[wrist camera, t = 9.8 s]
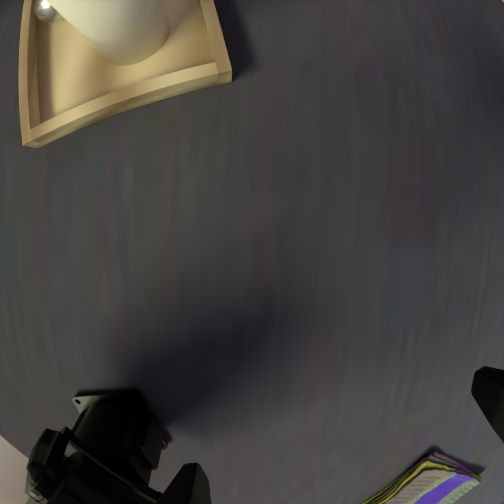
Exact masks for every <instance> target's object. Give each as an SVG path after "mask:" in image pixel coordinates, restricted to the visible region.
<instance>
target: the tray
mask: <svg viewBox="0 0 504 504" xmlns="http://www.w3.org/2000/svg"><path fill="white" fill-rule="evenodd" d="M35 1H36V0H24V6H23V14H22V23H21V34H20V49H19V107H20V122H21V134H22V144H23V146H29V147H34V148H40V147H42V146H44V145H46V144H48V143H50V142H52V141H54V140H56V139H58V138H61V137H63V136H65V135H67V134H70V133H72V132H74V131H76V130H79V129H81V128H83V127H86V126H88V125H91V124H93V123H96V122H98V121H101V120H103V119H106V118H109V117H111V116H114V115H117V114H120V113H122V112H125V111H128V110H131V109H134V108H137V107H140V106H143V105H146V104H149V103H152V102H156V101H159V100H162V99H166V98H169V97H173V96H176V95H180V94H184V93H187V92H191V91H195V90H199V89H203V88H207V87H212V86H216V85H221V84H225V83H230V82H232V68H231V64H230V61H229V57H228V53H227V49H226V45H225V41H224V38H223V34H222V30H221V27H220V23H219V19H218V15H217V12H216V8H215V4H214V1H213V0H162V3H163V6H164V9H165V12H166V15H167V18H168V21H169V26H170V29H169V34H168V37H167V39H166V41H165V43H164V44H163V46H162V47H161V48H160V49H159V50H158V51H157V52H156V53H155V54H154V55H152V56H151V57H149V58H148V59H146V60H144V61H142V62H139V63H137V64H133V65H128V66H119V65H114V64H111V63H109V62H107V61H106V60H105V59H104V58H103V57H102V56H101V55H100V54H99V53H98V52H97V51H96V50H95V49H94V48H93V47H92V46H91V45H90V44H89V43H88V42H87V41H86V40H85V39H84V38H83V37H82V36H81V35H80V34H79V33H78V32H77V31H76V30H75V29H74V28H73V27H72V26H71V25H70V23H69V22H68V21H67V20H66V19H65V20H63V21H61V22H58V23H45V22H43V21H41V20H40V19H39V18H38V17H37V16H36V14H35V10H34V5H35Z"/></svg>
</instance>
